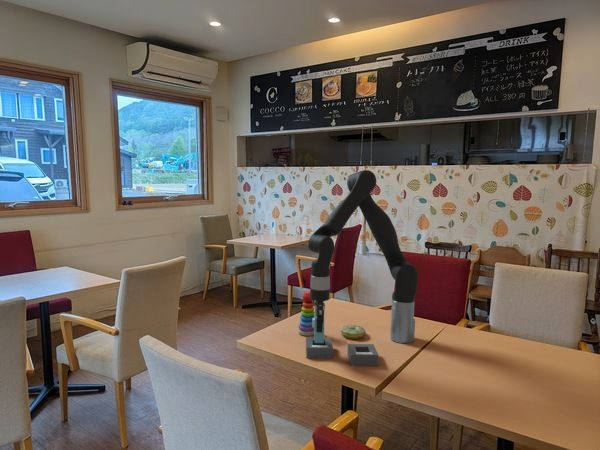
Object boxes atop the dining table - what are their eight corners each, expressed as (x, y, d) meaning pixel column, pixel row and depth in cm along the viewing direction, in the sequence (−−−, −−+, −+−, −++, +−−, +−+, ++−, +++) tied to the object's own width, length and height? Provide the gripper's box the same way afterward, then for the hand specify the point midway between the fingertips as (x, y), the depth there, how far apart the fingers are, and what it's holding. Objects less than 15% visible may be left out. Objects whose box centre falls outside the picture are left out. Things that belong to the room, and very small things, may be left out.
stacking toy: (316, 336, 175) (317, 294, 173) (297, 336, 175) (298, 294, 173) (316, 330, 183) (316, 289, 181) (298, 329, 183) (298, 289, 181)
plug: (323, 339, 160) (323, 314, 159) (323, 343, 157) (324, 318, 156) (312, 339, 160) (312, 314, 159) (312, 343, 157) (312, 318, 156)
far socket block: (330, 347, 164) (330, 337, 164) (332, 358, 154) (333, 347, 154) (305, 347, 164) (305, 337, 163) (306, 358, 154) (306, 347, 154)
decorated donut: (369, 334, 179) (369, 325, 179) (360, 342, 170) (360, 333, 169) (347, 329, 184) (347, 321, 184) (337, 337, 175) (337, 328, 175)
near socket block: (373, 354, 158) (373, 343, 158) (378, 365, 148) (378, 354, 148) (347, 353, 158) (347, 343, 158) (350, 365, 148) (351, 354, 148)
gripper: (331, 292, 149) (330, 337, 151) (328, 282, 163) (327, 323, 165) (310, 291, 149) (310, 336, 151) (309, 282, 163) (308, 323, 165)
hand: (319, 329), depth 158 cm, fingers closed on plug, 3 cm apart
